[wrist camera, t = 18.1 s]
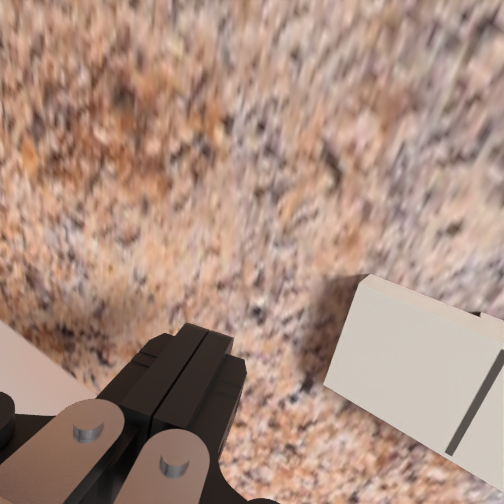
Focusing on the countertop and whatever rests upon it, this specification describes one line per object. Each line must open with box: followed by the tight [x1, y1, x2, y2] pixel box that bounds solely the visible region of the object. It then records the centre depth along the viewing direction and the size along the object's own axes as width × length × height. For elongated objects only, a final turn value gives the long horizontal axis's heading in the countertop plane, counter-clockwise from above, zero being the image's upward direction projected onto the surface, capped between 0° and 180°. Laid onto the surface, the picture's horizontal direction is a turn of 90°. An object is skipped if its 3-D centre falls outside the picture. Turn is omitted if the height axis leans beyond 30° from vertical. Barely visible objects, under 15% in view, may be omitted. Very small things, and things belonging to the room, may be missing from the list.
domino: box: [323, 274, 504, 492], centre depth 12 cm, size 2×5×10 cm
